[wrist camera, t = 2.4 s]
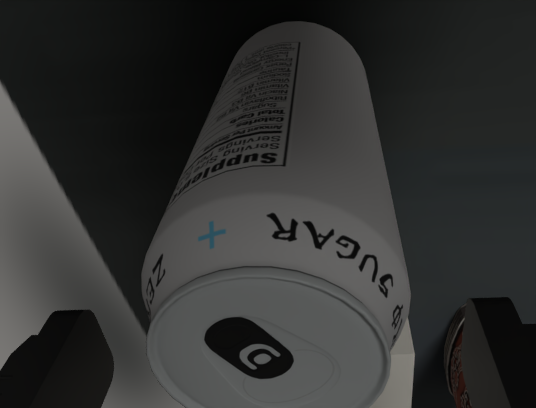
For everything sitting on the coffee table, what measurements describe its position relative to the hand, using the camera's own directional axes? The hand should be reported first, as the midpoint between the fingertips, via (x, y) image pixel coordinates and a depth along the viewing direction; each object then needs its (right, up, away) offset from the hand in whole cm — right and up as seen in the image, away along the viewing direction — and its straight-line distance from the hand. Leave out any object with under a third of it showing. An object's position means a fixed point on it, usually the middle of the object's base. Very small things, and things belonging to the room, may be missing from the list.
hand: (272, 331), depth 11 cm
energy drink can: (+1, +8, +12) cm, 14 cm away
